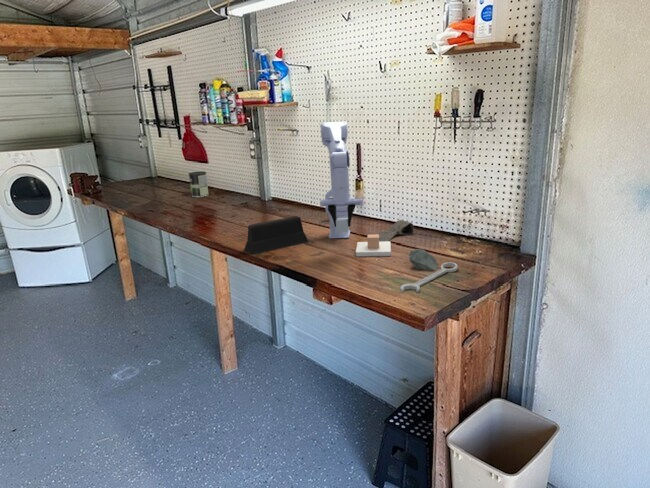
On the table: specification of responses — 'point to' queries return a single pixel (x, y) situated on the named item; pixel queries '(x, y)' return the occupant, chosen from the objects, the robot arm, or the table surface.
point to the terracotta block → (373, 241)
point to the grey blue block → (342, 225)
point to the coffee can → (198, 184)
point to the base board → (364, 251)
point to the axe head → (396, 230)
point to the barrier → (275, 235)
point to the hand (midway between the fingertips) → (342, 226)
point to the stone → (423, 260)
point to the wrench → (429, 277)
